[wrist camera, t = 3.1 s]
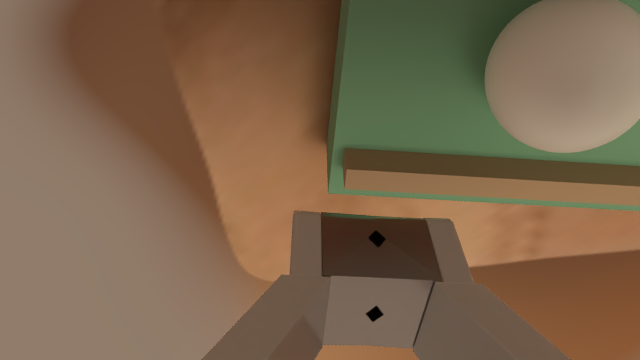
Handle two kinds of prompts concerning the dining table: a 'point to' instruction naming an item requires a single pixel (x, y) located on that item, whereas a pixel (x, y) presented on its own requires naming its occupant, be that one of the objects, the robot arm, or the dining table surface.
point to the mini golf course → (450, 115)
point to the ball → (567, 74)
